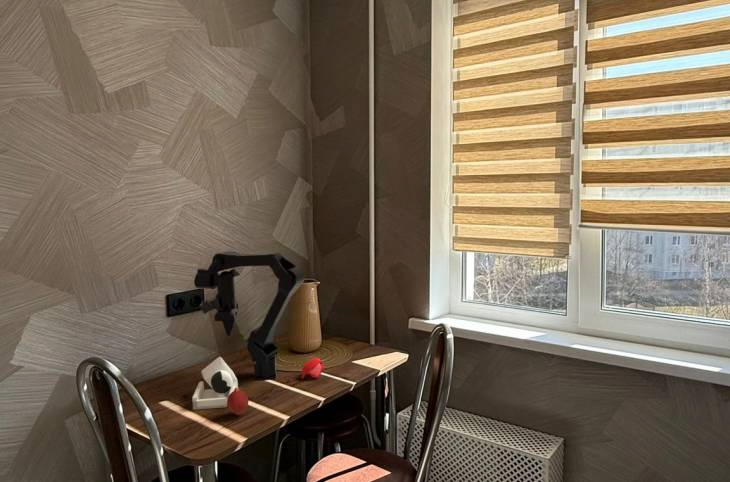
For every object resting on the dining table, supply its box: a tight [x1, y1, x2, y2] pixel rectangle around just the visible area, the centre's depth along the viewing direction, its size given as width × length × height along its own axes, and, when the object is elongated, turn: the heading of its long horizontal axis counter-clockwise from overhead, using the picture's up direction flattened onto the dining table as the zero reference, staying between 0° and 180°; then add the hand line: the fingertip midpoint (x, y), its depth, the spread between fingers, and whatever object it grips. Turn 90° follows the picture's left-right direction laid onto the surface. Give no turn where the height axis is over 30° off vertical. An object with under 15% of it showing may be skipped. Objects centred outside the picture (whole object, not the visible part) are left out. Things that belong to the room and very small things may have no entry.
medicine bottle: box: [201, 356, 238, 394], centre depth 173 cm, size 7×7×12 cm
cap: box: [301, 357, 324, 380], centre depth 187 cm, size 8×6×6 cm
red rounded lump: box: [226, 387, 249, 416], centre depth 159 cm, size 6×6×8 cm
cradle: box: [192, 379, 239, 411], centre depth 171 cm, size 11×13×4 cm
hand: (228, 335), depth 192 cm, fingers closed
